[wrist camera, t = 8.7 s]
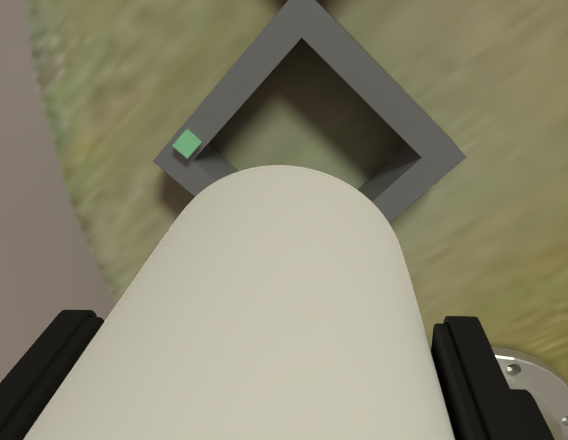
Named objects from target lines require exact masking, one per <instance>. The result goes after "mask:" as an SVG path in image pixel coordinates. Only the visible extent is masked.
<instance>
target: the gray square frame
mask: <svg viewBox="0 0 568 440" xmlns="http://www.w3.org/2000/svg"><path fill="white" fill-rule="evenodd" d="M301 38H303V39H304V40H305V41H306V42H307V43H308V44H309V45H310V46H311V47H312V48H313V49H314V50H315V51H316V52H317V53H318V54H319V55H320V56H321V57H322V58H323V59H324V60H325V61H326V62H327V63H328V64H329V65H330V66H331V67H332V68H333V69H334V70H335V71H336V72H337V73H338V74H339V75H340V76H341V77H342V78H343V79H344V80H345V81H346V82H347V83H348V84H349V85H350V86H351V87H352V88H353V89H354V90H355V91H356V92H357V93H358V94H359V95H360V96H361V97H362V98H363V99H364V100H365V101H366V102H367V103H368V104H369V105H370V106H371V107H372V108H373V109H374V110H375V111H376V112H377V113H378V114H379V115H380V116H381V117H382V118H383V119H384V120H385V121H386V122H387V123H388V124H389V125H390V126H391V127H392V128H393V129H394V130H395V131H396V132H397V133H398V134H399V135H400V136H401V137H402V138H403V139H404V140H405V141H406V142H407V143H408V144H407V145H406V146H405V147H404V148H403V149H402V150H401V151H400V152H399V153H398V154H396V155H395V156H394V157H393V158H392V159H391V160H390V161H389V162H388V163H387V164H385V165H384V166H383V167H382V168H381V169H380V170H379V171H378V172H377V173H376V174H375V175H373V176H372V177H371V178H370V179H369V180H368V181H367V182H366V183H365V184H364V185H362V186H361V187H360V188H359V189H358V191H360V192H361V193H362V194H363V195H365V196H366V197H367V198H368V199H369V200H370V201H371V202H372V203H373V204H374V205H375V206H376V207H377V208H378V209H379V210H380V211H381V212H382V214H383V215H384V216H385V218H386V219H387V221H388V222H389V223H390V222H391V221H392V220H393V219H394V218H396V217H397V216H398V215H399V214H400V213H402V212H403V211H404V210H405V209H406V208H407V207H409V206H410V205H411V204H412V203H413V202H414V201H416V200H417V199H418V198H419V197H420V196H421V195H423V194H424V193H425V192H426V191H427V190H429V189H430V188H431V187H432V186H433V185H434V184H436V183H437V182H438V181H439V180H440V179H441V178H443V177H444V176H445V175H446V174H447V173H448V172H450V171H451V170H452V169H453V168H454V167H455V166H457V165H458V164H459V163H460V162H461V161H463V160H464V159H465V158H466V156H465V155H464V154H463V153H462V151H461V150H460V149H459V148H458V147H457V145H456V144H455V143H454V142H453V141H452V139H451V138H450V137H449V136H448V135H447V134H446V133H445V132H444V131H443V130H442V129H441V128H440V127H439V126H438V125H437V124H436V123H435V122H434V121H433V120H432V119H431V118H430V117H429V116H428V114H427V113H426V112H425V111H424V110H423V109H422V108H421V107H420V106H419V105H418V104H417V103H416V102H415V101H414V100H413V99H412V98H411V97H410V96H409V95H408V94H407V93H406V92H405V91H404V90H403V89H402V88H401V87H400V85H399V84H398V83H397V82H396V81H395V80H394V79H393V78H392V77H391V76H390V75H389V74H388V73H387V72H386V71H385V70H384V69H383V68H382V67H381V66H380V65H379V64H378V63H377V62H376V61H375V60H374V59H373V58H372V56H371V55H370V54H369V53H368V52H367V51H366V50H365V49H364V48H363V47H362V46H361V45H360V44H359V43H358V42H357V41H356V40H355V39H354V38H353V37H352V36H351V35H350V34H349V33H348V32H347V31H346V30H345V29H344V27H343V26H342V25H341V24H340V23H339V22H338V21H337V20H336V19H335V18H334V17H333V16H332V15H331V14H330V13H329V12H328V11H327V10H326V9H325V8H324V7H323V6H322V5H321V4H320V3H319V2H318V1H317V0H288V1H287V2H286V3H285V5H284V6H283V7H282V8H281V9H280V11H279V12H278V13H277V14H276V15H275V16H274V18H273V19H272V20H271V21H270V22H269V24H268V25H267V26H266V27H265V28H264V30H263V31H262V32H261V33H260V34H259V36H258V37H257V38H256V39H255V40H254V41H253V43H252V44H251V45H250V46H249V47H248V49H247V50H246V51H245V52H244V53H243V55H242V56H241V57H240V58H239V59H238V60H237V62H236V63H235V64H234V65H233V66H232V68H231V69H230V70H229V71H228V72H227V74H226V75H225V76H224V77H223V78H222V79H221V81H220V82H219V83H218V84H217V85H216V87H215V88H214V89H213V90H212V91H211V93H210V94H209V95H208V96H207V97H206V99H205V100H204V101H203V102H202V103H201V104H200V106H199V107H198V108H197V109H196V110H195V112H194V113H193V114H192V115H191V116H190V118H189V119H188V120H187V121H186V122H185V123H184V125H183V126H182V127H181V128H180V129H179V131H178V132H177V133H176V134H175V135H174V137H173V138H172V139H171V140H170V141H169V142H168V144H167V145H166V146H165V147H164V148H163V150H162V151H161V152H160V153H159V154H158V156H157V157H156V158H155V159H154V160H153V162H154V163H155V164H157V165H158V166H159V167H160V168H161V169H163V170H164V171H165V172H166V173H167V174H168V175H170V176H171V177H172V178H173V179H174V180H176V181H177V182H178V183H179V184H180V185H181V186H183V187H184V188H185V189H186V190H187V191H189V192H190V193H191V194H192V195H193V196H195V197H196V196H197V195H198V194H199V193H200V192H201V191H203V190H204V189H205V188H207V187H208V186H209V185H211V184H213V183H214V182H216V181H218V180H220V179H221V178H224V177H226V176H228V175H230V174H233V173H236V172H239V171H238V170H237V169H235V168H234V167H233V166H232V165H231V164H230V163H229V162H227V161H226V160H225V159H224V158H223V157H222V156H221V155H220V154H218V153H217V152H216V151H215V150H214V149H213V148H212V147H210V146H209V145H208V143H209V142H210V141H211V139H212V138H213V137H214V136H215V135H216V134H217V133H218V132H219V130H220V129H221V128H222V127H223V126H224V125H225V124H226V123H227V121H228V120H229V119H230V118H231V117H232V116H233V115H234V113H235V112H236V111H237V110H238V109H239V108H240V107H241V106H242V104H243V103H244V102H245V101H246V100H247V99H248V98H249V96H250V95H251V94H252V93H253V92H254V91H255V90H256V89H257V87H258V86H259V85H260V84H261V83H262V82H263V81H264V80H265V78H266V77H267V76H268V75H269V74H270V73H271V72H272V70H273V69H274V68H275V67H276V66H277V65H278V64H279V63H280V61H281V60H282V59H283V58H284V57H285V56H286V55H287V53H288V52H289V51H290V50H291V49H292V48H293V47H294V46H295V44H296V43H297V42H298V41H299V40H300V39H301Z"/></svg>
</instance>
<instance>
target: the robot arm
mask: <svg viewBox="0 0 568 440" xmlns="http://www.w3.org/2000/svg"><path fill="white" fill-rule="evenodd" d="M103 323H104V320H103V319H102V318H100V317H97V316H96V314H95V313H94V311H92V310H63V311H61V312H60V313H59V314H58V315H57V317H56V318H55V319H54V320H53V321H52V323H51V324H50V325H49V326H48V327H47V329H46V330H45V331H44V332H43V333H42V334H41V335H40V337H39V338H38V339H37V340H36V341H35V343H34V344H33V345H32V346H31V347H30V349H29V350H28V351H27V352H26V353H25V354H24V356H23V357H22V358H21V359H20V360H19V362H18V363H17V364H16V365H15V366H14V367H13V369H12V370H11V371H10V372H9V373H8V374H7V376H6V377H5V378H4V379H3V380H2V381H1V383H0V440H23V439H24V438H25V436H26V435H27V433H28V432H29V430H30V429H31V427H32V426H33V425H34V423H35V422H36V420H37V419H38V417H39V416H40V414H41V413H42V411H43V410H44V409H45V407H46V406H47V404H48V403H49V401H50V400H51V398H52V397H53V396H54V394H55V393H56V391H57V390H58V388H59V387H60V385H61V384H62V382H63V381H64V380H65V378H66V377H67V375H68V374H69V372H70V371H71V369H72V368H73V367H74V365H75V364H76V362H77V361H78V359H79V358H80V356H81V355H82V353H83V352H84V351H85V349H86V348H87V346H88V345H89V343H90V342H91V340H92V339H93V338H94V336H95V335H96V333H97V332H98V330H99V329H100V327H101V326H102V325H103ZM431 354H432V358H433V361H434V365H435V368H436V372H437V375H438V379H439V383H440V386H441V390H442V393H443V397H444V401H445V404H446V408H447V411H448V415H449V419H450V422H451V426H452V429H453V433H454V437H455V440H568V384H567V382H566V381H565V379H564V378H563V377H562V376H561V375H560V374H559V373H558V372H557V371H556V370H555V369H554V368H552V367H551V366H550V365H548V364H546V363H545V362H543V361H541V360H540V359H538V358H536V357H534V356H531V355H528V354H526V353H523V352H520V351H517V350H512V349H507V348H501V347H491V345H490V343H489V341H488V339H487V337H486V334H485V332H484V330H483V328H482V326H481V323H480V321H479V319H478V318H477V317H469V316H446V317H445V319H444V323H443V324H435V325H434V329H433V338H432V347H431Z"/></svg>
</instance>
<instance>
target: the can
mask: <svg viewBox="0 0 568 440" xmlns="http://www.w3.org/2000/svg"><path fill="white" fill-rule="evenodd" d="M23 440H455V437H454V433H453V429H452V426H451V422H450V419H449V415H448V411H447V408H446V404H445V401H444V397H443V393H442V390H441V386H440V383H439V379H438V375H437V372H436V368H435V365H434V361H433V358H432V354H431V351H430V347H429V343H428V340H427V336H426V333H425V329H424V326H423V322H422V318H421V315H420V311H419V308H418V304H417V301H416V297H415V294H414V290H413V287H412V283H411V280H410V276H409V273H408V270H407V266H406V263H405V260H404V257H403V254H402V251H401V247H400V245H399V242H398V240H397V237H396V235H395V233H394V231H393V229H392V227H391V226H390V224H389V222H388V221H387V219H386V218H385V216H384V215H383V214H382V212H381V211H380V210H379V209H378V208H377V207H376V206H375V205H374V204H373V203H372V202H371V201H370V200H369V199H368V198H367V197H366V196H365V195H363V194H362V193H361V192H360V191H358V190H357V189H355V188H354V187H352V186H351V185H349V184H347V183H346V182H344V181H342V180H340V179H338V178H336V177H334V176H331V175H329V174H326V173H323V172H320V171H317V170H313V169H309V168H304V167H297V166H287V165H270V166H261V167H254V168H250V169H245V170H242V171H239V172H236V173H233V174H230V175H228V176H226V177H224V178H221V179H220V180H218V181H216V182H214V183H213V184H211V185H209V186H208V187H207V188H205V189H204V190H203V191H201V192H200V193H199V194H198V195H197V196H196V197H195V198H194V199H193V200H192V201H191V202H190V203H189V204H188V205H187V206H186V207H185V208H184V210H183V211H182V212H181V214H180V215H179V216H178V218H177V219H176V220H175V222H174V223H173V224H172V226H171V227H170V229H169V230H168V231H167V233H166V234H165V236H164V237H163V238H162V240H161V241H160V243H159V244H158V245H157V247H156V248H155V250H154V251H153V253H152V254H151V255H150V257H149V258H148V260H147V261H146V263H145V264H144V265H143V267H142V268H141V270H140V271H139V273H138V274H137V276H136V277H135V278H134V280H133V281H132V283H131V284H130V286H129V287H128V288H127V290H126V291H125V293H124V294H123V296H122V297H121V299H120V300H119V301H118V303H117V304H116V306H115V307H114V309H113V310H112V312H111V313H110V315H109V316H108V318H107V319H106V320H105V322H104V323H103V325H102V326H101V327H100V329H99V330H98V332H97V333H96V335H95V336H94V338H93V339H92V340H91V342H90V343H89V345H88V346H87V348H86V349H85V351H84V352H83V353H82V355H81V356H80V358H79V359H78V361H77V362H76V364H75V365H74V367H73V368H72V369H71V371H70V372H69V374H68V375H67V377H66V378H65V380H64V381H63V382H62V384H61V385H60V387H59V388H58V390H57V391H56V393H55V394H54V396H53V397H52V398H51V400H50V401H49V403H48V404H47V406H46V407H45V409H44V410H43V411H42V413H41V414H40V416H39V417H38V419H37V420H36V422H35V423H34V425H33V426H32V427H31V429H30V430H29V432H28V433H27V435H26V436H25V438H24V439H23Z"/></svg>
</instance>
